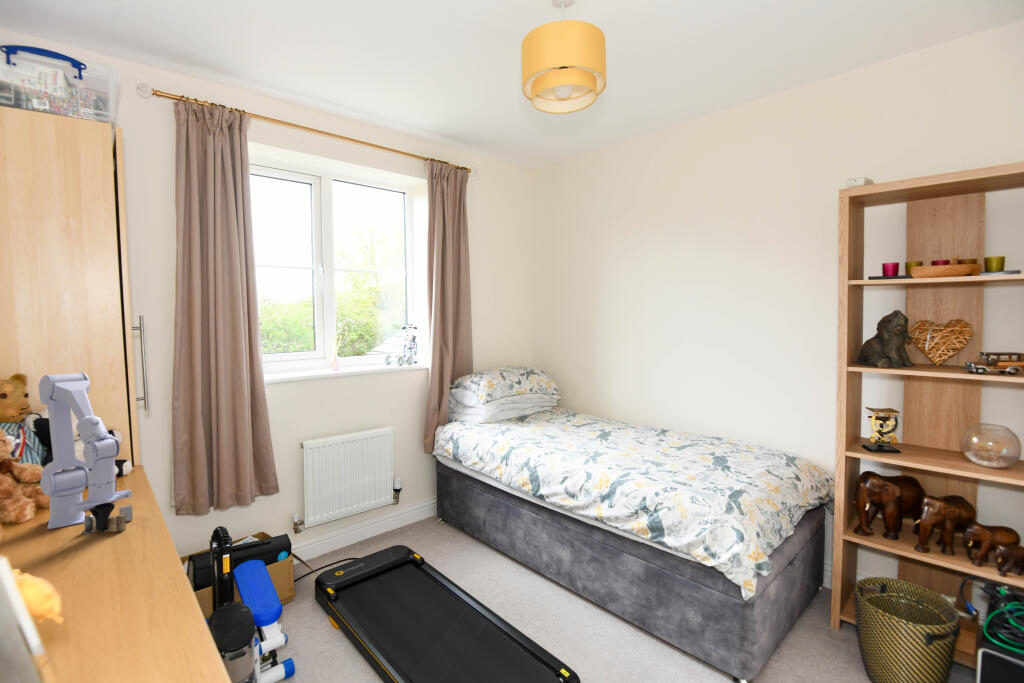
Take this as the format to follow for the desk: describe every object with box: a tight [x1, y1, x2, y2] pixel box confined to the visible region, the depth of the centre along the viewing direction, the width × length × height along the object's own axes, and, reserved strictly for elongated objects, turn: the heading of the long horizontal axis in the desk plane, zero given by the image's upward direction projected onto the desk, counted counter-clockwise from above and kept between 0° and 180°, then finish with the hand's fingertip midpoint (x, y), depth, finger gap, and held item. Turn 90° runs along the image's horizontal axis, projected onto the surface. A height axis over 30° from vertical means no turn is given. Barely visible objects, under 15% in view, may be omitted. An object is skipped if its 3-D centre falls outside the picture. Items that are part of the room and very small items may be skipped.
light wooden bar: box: [93, 514, 127, 532], centre depth 138 cm, size 8×2×4 cm, turn 94°
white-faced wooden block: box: [118, 504, 133, 522], centre depth 145 cm, size 2×3×4 cm, turn 131°
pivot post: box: [81, 514, 97, 535], centre depth 137 cm, size 3×3×4 cm
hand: (102, 530), depth 136 cm, fingers closed, pressing on light wooden bar
